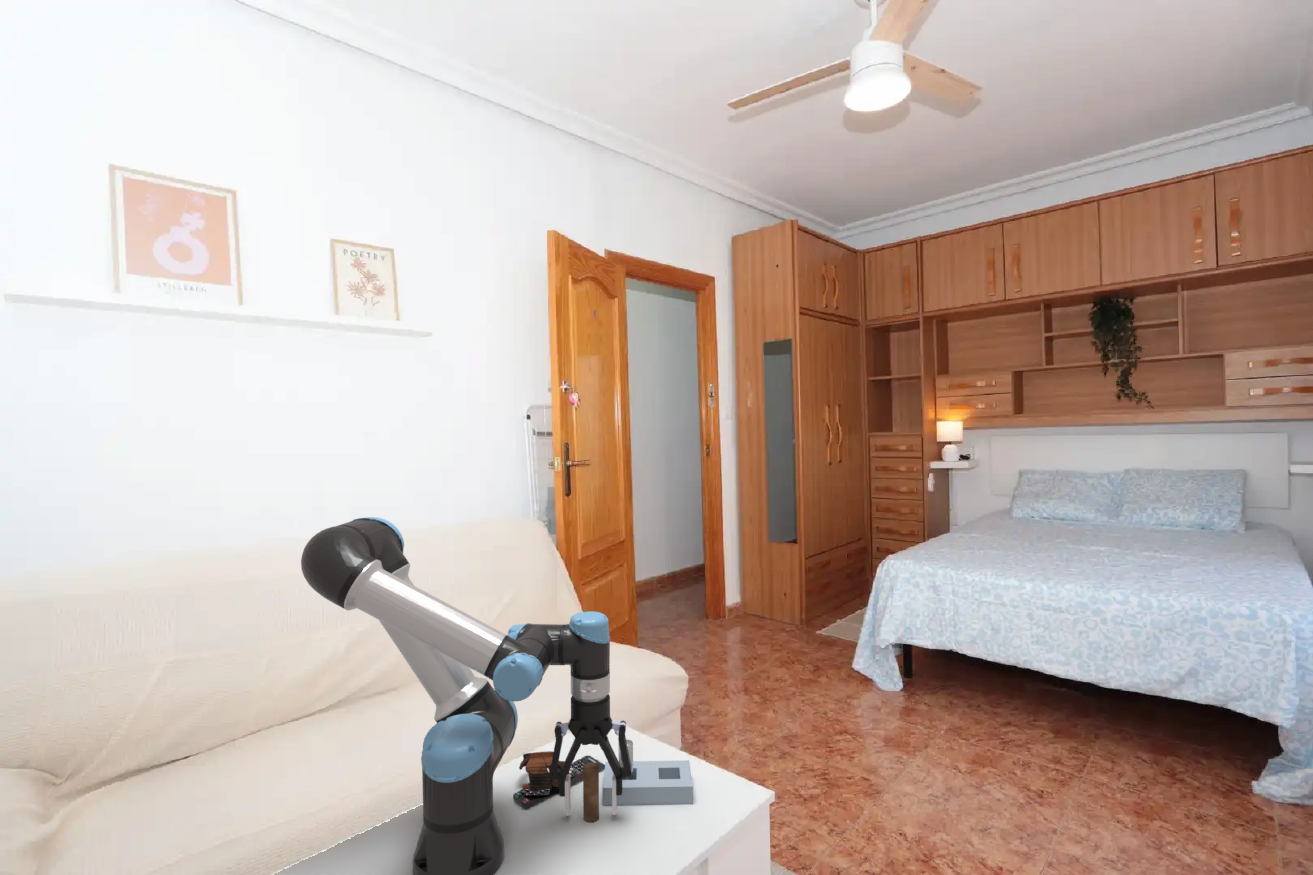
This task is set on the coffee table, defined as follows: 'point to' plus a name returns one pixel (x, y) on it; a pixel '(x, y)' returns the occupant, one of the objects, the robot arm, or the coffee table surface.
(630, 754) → the grey steel peg
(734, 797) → the coffee table surface
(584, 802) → the walnut peg
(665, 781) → the socket block
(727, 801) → the coffee table surface
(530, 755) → the pottery mug
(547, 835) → the coffee table surface
